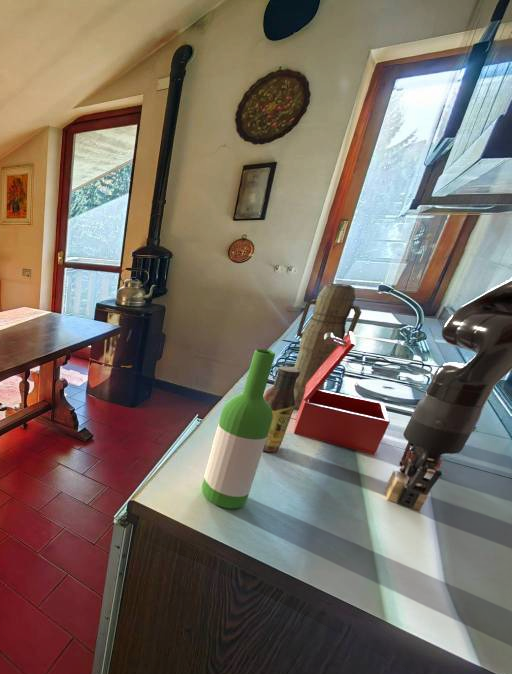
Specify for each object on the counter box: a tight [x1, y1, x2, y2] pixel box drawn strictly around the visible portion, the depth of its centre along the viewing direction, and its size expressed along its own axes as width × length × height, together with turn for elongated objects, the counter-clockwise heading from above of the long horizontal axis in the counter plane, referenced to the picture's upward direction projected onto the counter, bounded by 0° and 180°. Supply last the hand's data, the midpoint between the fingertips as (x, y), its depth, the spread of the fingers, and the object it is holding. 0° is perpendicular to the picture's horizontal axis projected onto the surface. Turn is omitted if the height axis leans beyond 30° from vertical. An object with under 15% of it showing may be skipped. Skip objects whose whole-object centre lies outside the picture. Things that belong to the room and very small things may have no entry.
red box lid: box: [304, 332, 356, 401], centre depth 97 cm, size 16×13×5 cm
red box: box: [293, 390, 391, 456], centre depth 98 cm, size 16×13×9 cm
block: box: [384, 469, 431, 511], centre depth 75 cm, size 5×5×5 cm
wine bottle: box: [201, 348, 276, 510], centre depth 70 cm, size 8×8×30 cm
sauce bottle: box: [263, 365, 300, 453], centre depth 90 cm, size 7×6×20 cm
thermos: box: [293, 283, 362, 411], centre depth 108 cm, size 9×12×35 cm
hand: (402, 497), depth 76 cm, fingers closed on block, 4 cm apart
